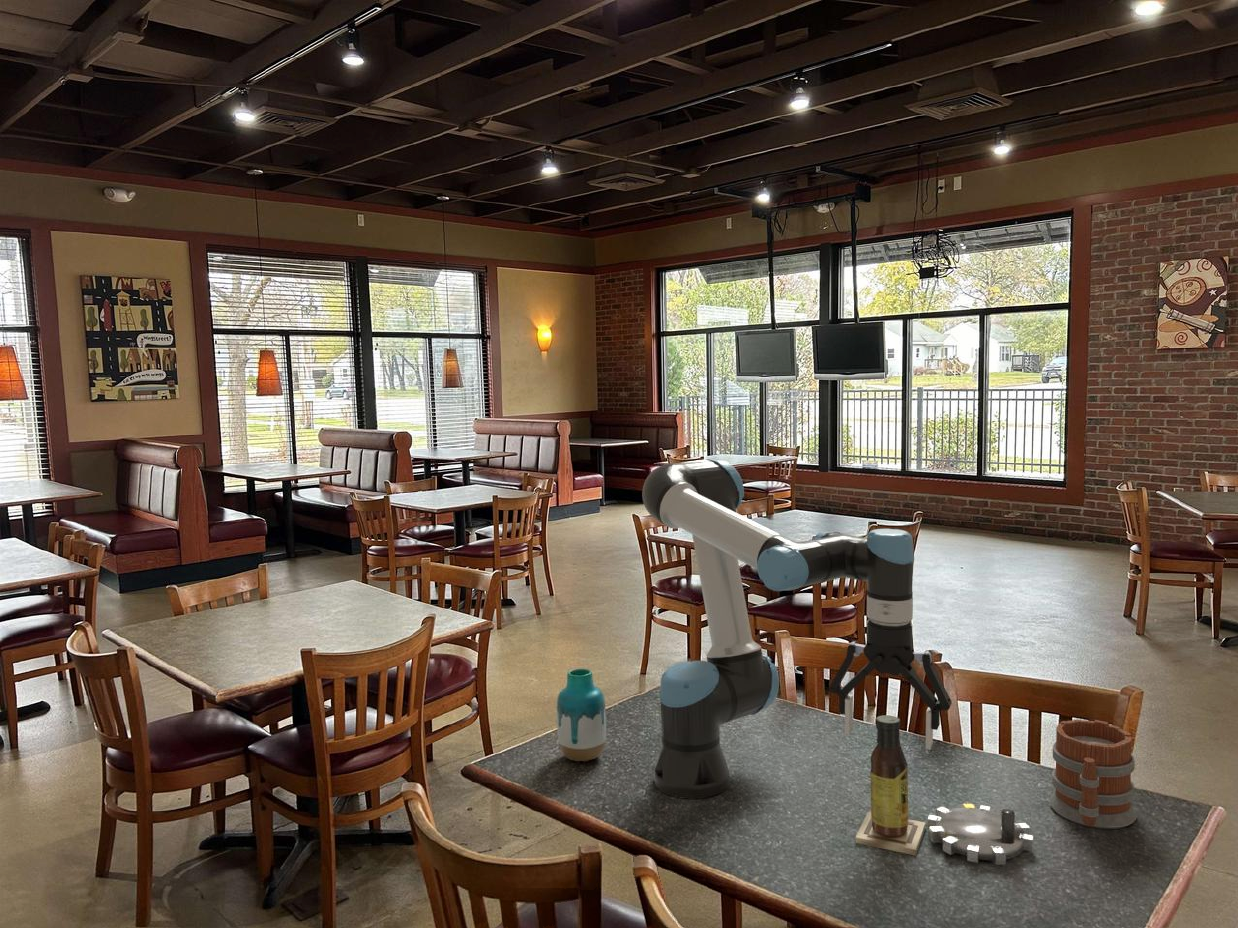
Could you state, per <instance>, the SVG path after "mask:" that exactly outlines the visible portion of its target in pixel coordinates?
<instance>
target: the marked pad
mask: <svg viewBox="0 0 1238 928" xmlns="http://www.w3.org/2000/svg"><path fill="white" fill-rule="evenodd" d="M925 831H926V822H925V821H919V820H913V819H909V818H908V827H907V832H906V833H905V834H904V835H901V836H898V837H889V836H884V835H881V834H879V833H877V832H876V831H875V830H874V829H873V827H872V819H871V811H867V813H866V816H865V817H864V819H863V821H862V823H861V825H860V826H859V829H858V831H857V834H856V835H855V841H854V842H855V843H856V844H860V845H865V846H868V847H869V846H870V847H874V848H878V849H884V850H889V851H893V852H899V853H900V854H901V853H902V854H907V855H913V856H917V853H918V850H919V847H920V844H921V842H922V838H923V836H924V833H925Z"/></svg>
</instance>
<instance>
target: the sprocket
mask: <svg viewBox="0 0 1238 928" xmlns="http://www.w3.org/2000/svg"><path fill="white" fill-rule="evenodd" d="M935 811H936V815H932V814H929V815H928V818H927V830H928V831H929V834H928V835H929V840H930V841H931V842H932V843H941V845H942V851H943V852H944V853H947V854H948V855H950V856H951V855H954V854H955V853H957V854H960V855H962V856H964V857H965V856H966V860H967V862H972V863H976V864H978V863H979V860H983V861H984V860H985V861H992V862H993V863H994V864H995V865H996V866H997V865H1006V864H1007V862H1006V861H1007V860H1009V859H1013V858H1015V857H1017V856H1019V855H1020V854H1021V853H1023V851H1026V852H1027V851H1028V852H1033V848H1034V835H1032V834H1030V828H1031V827H1030V826H1029V825H1028V824H1027V823H1026V822H1017V821H1015V820H1016V819H1015V818H1016V817H1015V816H1016V813H1015V811H1014V810H1012V809H1010V808H1004V809H1001V810H1000V811H1001V812H997V811H993V810H991V806H987V805H980V807H979V808H977V807H975V805H974V804H973V803H963V806H962V807H955V808H949V809H948V808H946V807H944V806H940V807H937V808H936V810H935Z"/></svg>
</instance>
